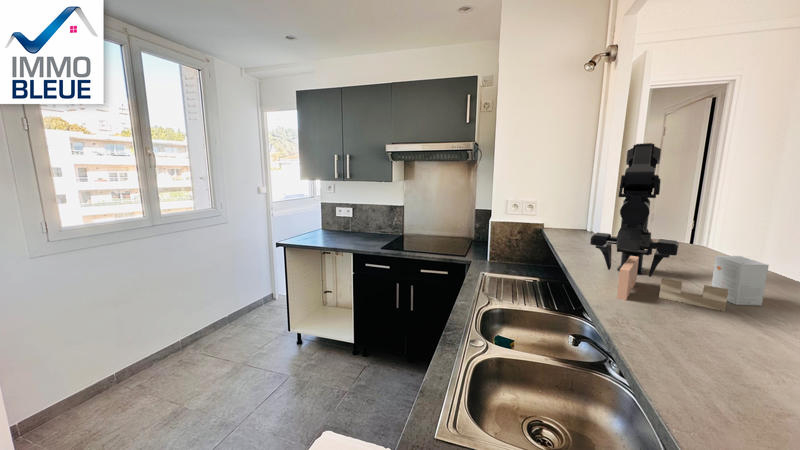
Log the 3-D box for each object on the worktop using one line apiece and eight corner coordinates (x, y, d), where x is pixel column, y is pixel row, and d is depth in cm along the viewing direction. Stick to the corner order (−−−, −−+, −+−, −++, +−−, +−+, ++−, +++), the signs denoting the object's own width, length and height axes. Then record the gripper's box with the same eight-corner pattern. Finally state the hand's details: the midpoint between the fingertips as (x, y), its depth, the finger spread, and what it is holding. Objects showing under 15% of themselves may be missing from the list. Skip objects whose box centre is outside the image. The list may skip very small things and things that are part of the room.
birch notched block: (659, 295, 82) (662, 277, 81) (724, 308, 74) (727, 288, 73) (658, 297, 81) (661, 279, 80) (724, 311, 72) (728, 291, 71)
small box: (762, 306, 74) (770, 264, 72) (734, 305, 75) (741, 264, 73) (734, 293, 82) (740, 255, 80) (709, 292, 83) (715, 254, 81)
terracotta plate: (627, 281, 92) (630, 255, 91) (636, 282, 91) (638, 256, 90) (616, 298, 81) (619, 269, 80) (626, 300, 80) (629, 270, 78)
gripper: (587, 218, 83) (583, 273, 86) (679, 226, 70) (670, 290, 73) (597, 213, 91) (593, 263, 94) (682, 219, 78) (674, 277, 81)
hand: (628, 272), depth 85 cm, fingers open, 9 cm apart
